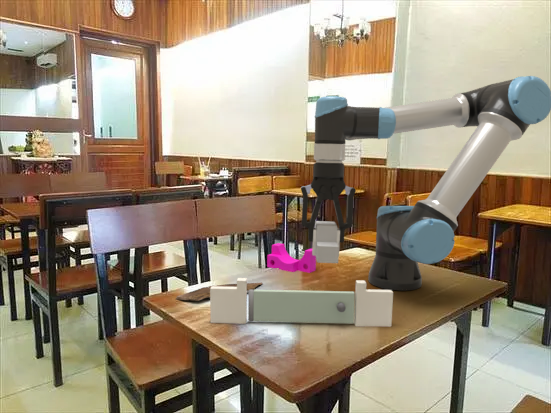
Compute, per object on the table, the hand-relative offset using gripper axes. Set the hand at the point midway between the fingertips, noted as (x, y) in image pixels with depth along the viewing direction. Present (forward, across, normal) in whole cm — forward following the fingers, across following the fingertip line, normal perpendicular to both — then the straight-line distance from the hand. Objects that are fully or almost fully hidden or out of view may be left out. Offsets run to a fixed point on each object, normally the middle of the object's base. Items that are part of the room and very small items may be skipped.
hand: (325, 254), depth 105 cm
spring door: (+13, +17, +13) cm, 25 cm away
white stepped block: (0, 0, 0) cm, 1 cm away
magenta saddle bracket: (+13, +9, -31) cm, 35 cm away
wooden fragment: (+15, +24, -3) cm, 28 cm away
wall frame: (+13, +17, +13) cm, 25 cm away
